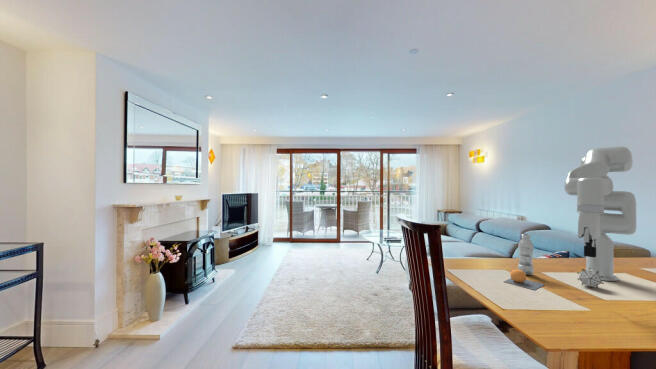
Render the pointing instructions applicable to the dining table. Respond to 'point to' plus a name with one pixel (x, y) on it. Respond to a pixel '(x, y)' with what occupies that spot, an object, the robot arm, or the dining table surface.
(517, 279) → the ball
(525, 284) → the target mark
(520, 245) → the plastic bottle
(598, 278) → the grey spiky ball
